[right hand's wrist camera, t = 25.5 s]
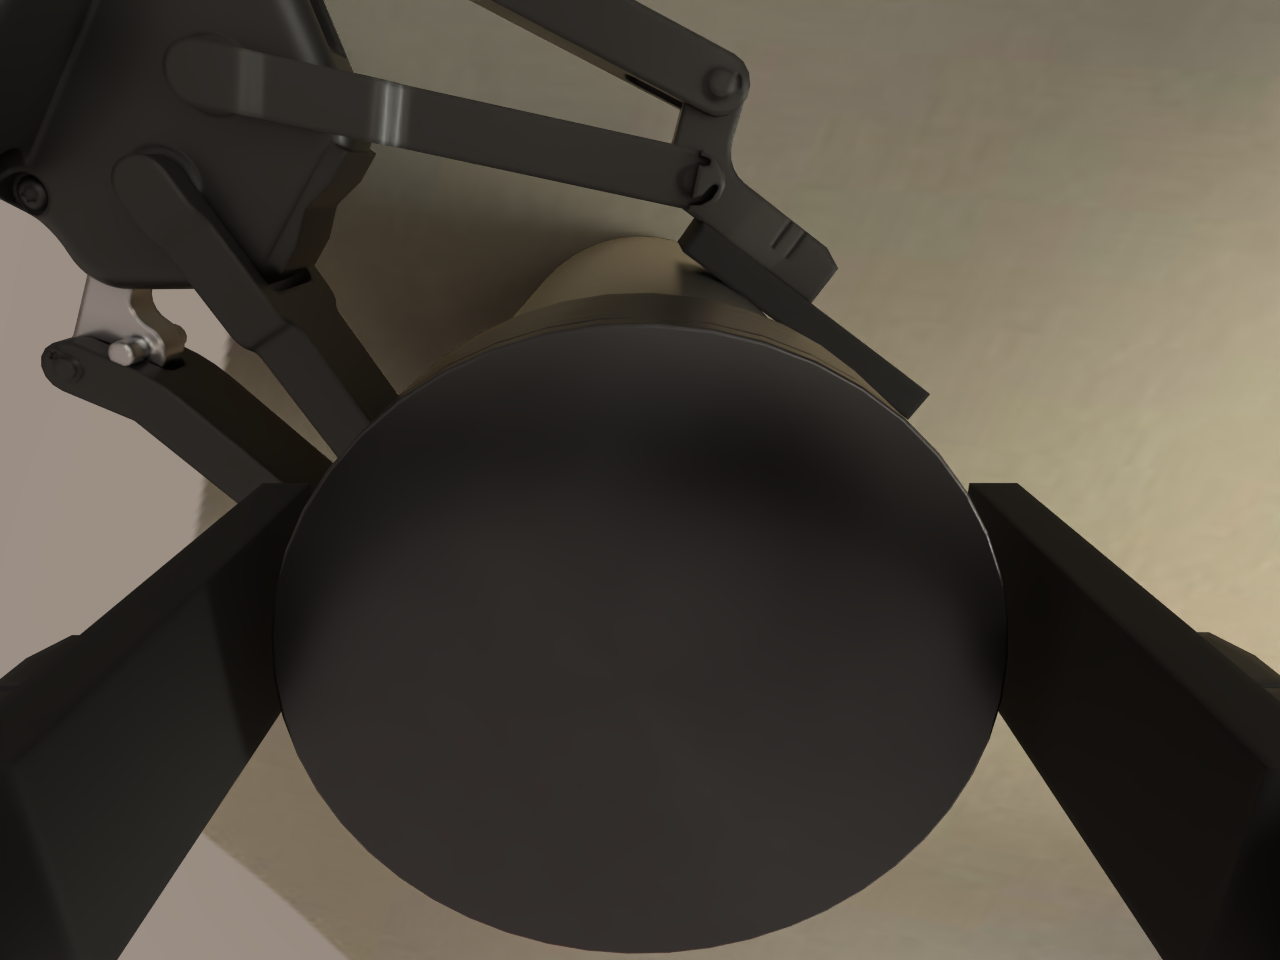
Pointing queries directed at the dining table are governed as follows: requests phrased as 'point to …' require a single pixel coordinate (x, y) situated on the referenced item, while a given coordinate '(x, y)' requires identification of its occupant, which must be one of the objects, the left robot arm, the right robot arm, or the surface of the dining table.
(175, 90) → the left robot arm
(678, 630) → the lid
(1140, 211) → the dining table surface
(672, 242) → the jar
